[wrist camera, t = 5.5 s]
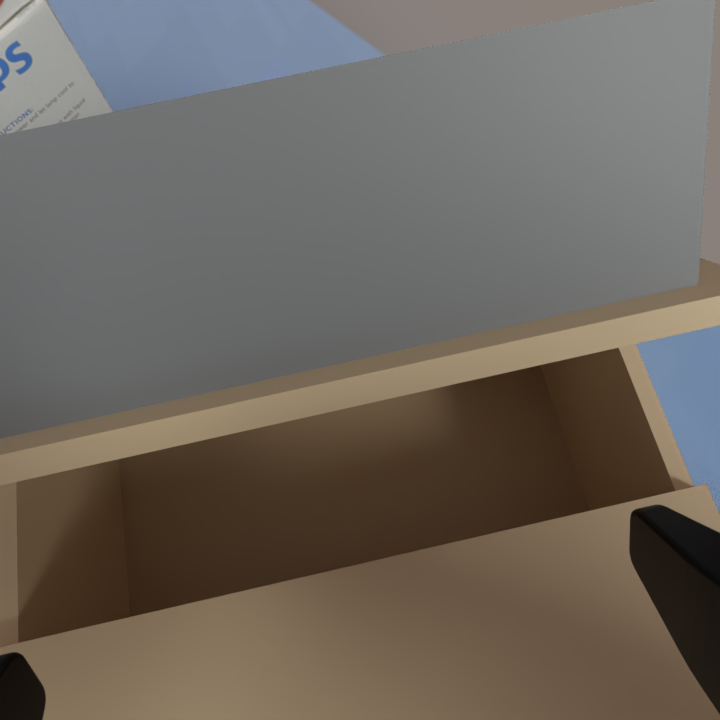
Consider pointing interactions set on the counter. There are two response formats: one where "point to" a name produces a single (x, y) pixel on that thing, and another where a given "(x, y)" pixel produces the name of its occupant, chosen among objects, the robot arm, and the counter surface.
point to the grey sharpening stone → (352, 235)
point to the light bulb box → (41, 70)
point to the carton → (366, 563)
